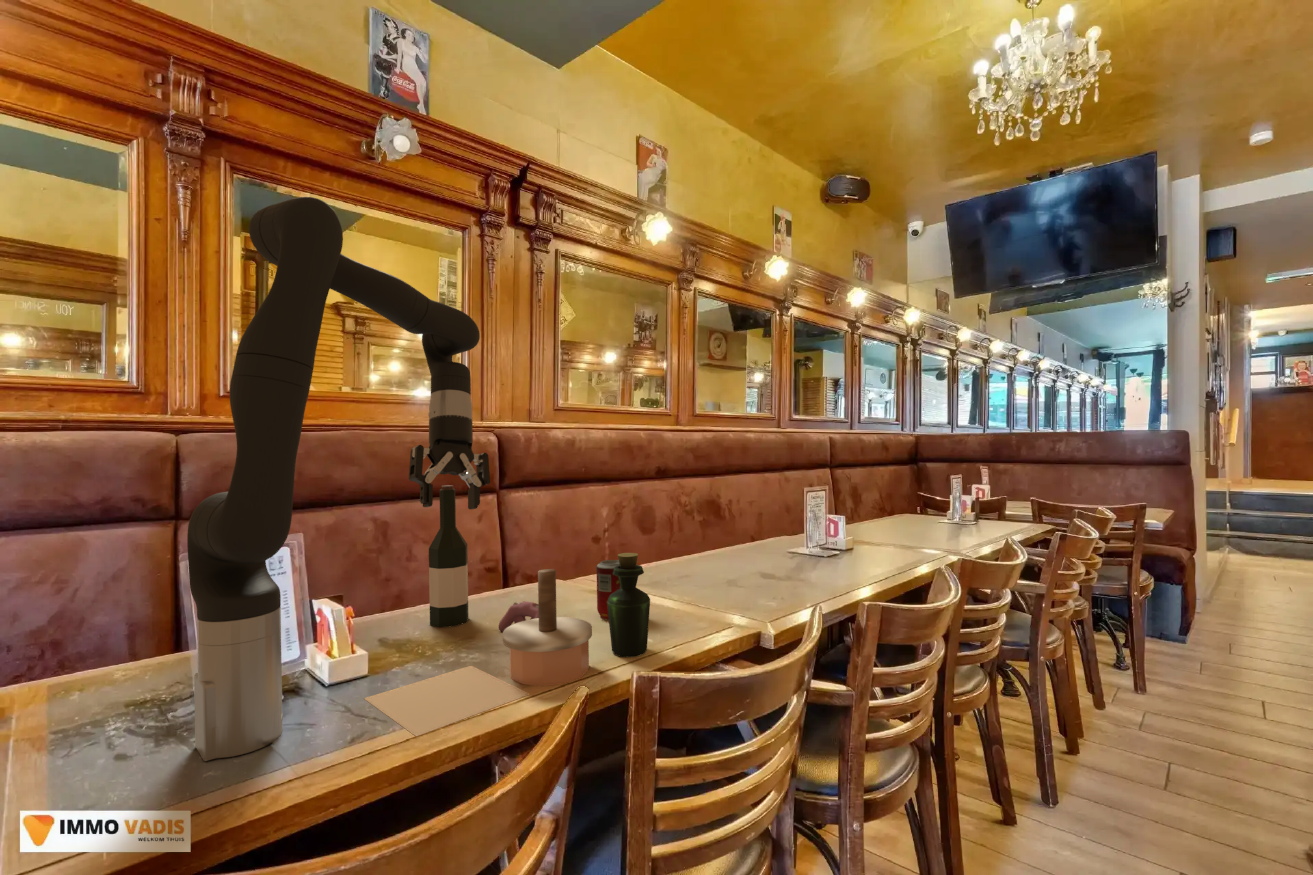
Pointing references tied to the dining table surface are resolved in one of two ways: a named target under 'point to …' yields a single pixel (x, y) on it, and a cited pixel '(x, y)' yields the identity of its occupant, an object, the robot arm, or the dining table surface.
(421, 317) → the robot arm
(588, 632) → the lid
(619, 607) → the potion bottle
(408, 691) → the cork mat
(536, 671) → the bowl
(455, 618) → the wine bottle
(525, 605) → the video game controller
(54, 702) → the dining table surface
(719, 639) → the dining table surface
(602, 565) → the soda can
